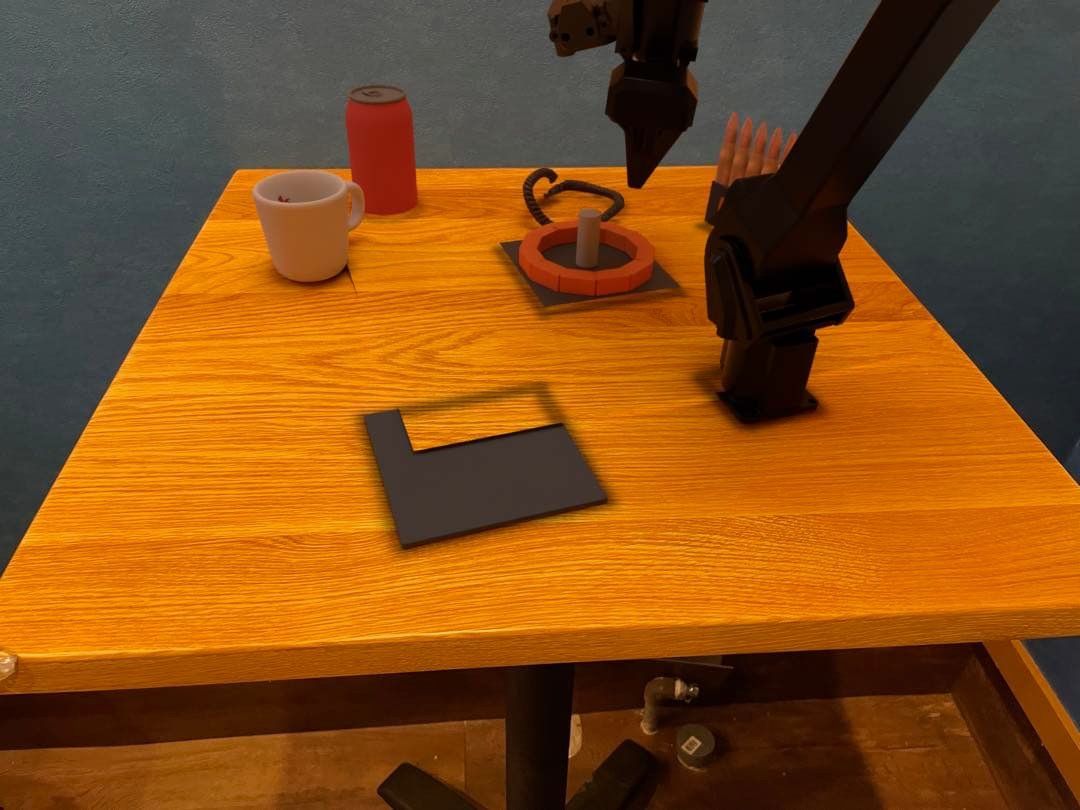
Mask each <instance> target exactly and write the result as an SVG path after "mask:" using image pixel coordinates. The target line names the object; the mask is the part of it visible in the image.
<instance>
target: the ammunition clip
mask: <svg viewBox="0 0 1080 810" xmlns="http://www.w3.org/2000/svg"><path fill="white" fill-rule="evenodd" d="M738 132H739V117H738V113H737V111H736V110H734V111H733V112H732V114H731V115H730V118H729V120H728V123H727V125H726V129H725V133H724V137H723V138H724V139H723V140H722V141H723V142H722V146H721V150H720V152H719V154H718V155H719V156H718V160H717V165H716V172H715V178H714V180H712V181H711V184H710V190H709V195H708V201H707V205H706V211H705V215H704V220H703V221H704V222H705V223H708V224H709V222H708V220H709V219H710V218H711V217H713V216H714V215H715V214H716V213H717V212H718V210H719V209H720V207H721V205H722V203H723V200H724V197H725V195H726V192H727V190H728V188H729V187H730V186H731V184H732V183H733V182H734V181H735V180H736V179H738V178H744V177H749V176H755V175H761V174H767V173H773V172H777V170H778V169H779V168H780V166H781V164H782V163H783V161H784V159H785V158H786V156H787V154H788V153H789V151H790V149H791V148H792V146H793V145H794V143H795V141H796V140H797V138H798V136H797V133H796V131H793V132H792V133H791V134H790V136H789V138H788V139H787V142H786V144H785V147H784V150H783V152H782V156H781V151H782V144H783V138H782V137H783V135H782V128H781V126H780V125H778V126H777V127H776V129H775V130H774V132H773V134H772V136H771V138H770V141H769V143H767V142H768V141H767V140H768V127H767V122H766V121H765V120H763V121H762V123H760V125H759V126H758V130H757V132H756V134H755V136H754V137H755V138H754V140H753V121H752V116H750V115H747V118H746V119H745V121H744V122H743V125H742V128H741V130H740V133H738ZM738 134H739V137H738ZM737 140H738V143H737ZM752 140H753V145H752ZM767 144H768V147H767ZM751 146H752V149H751ZM766 148H767V152H766ZM780 157H781V158H780Z"/></svg>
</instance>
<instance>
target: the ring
mask: <svg viewBox="0 0 1080 810" xmlns="http://www.w3.org/2000/svg"><path fill="white" fill-rule="evenodd" d="M553 222H554V223H549V224H546V225H544V226H541V225H540V226H539V227H537V228H535V229H532V230H530V231H529V232H526V233H525V235H524V237H523V239H522V240H523V241H522V243H521V246H520V248H519V264H520V266H521V267H522V269H523V270H524V271H525V273H526V274H527V276H528V277H529V278H530V279H531V280H532V281H534V282H536V283H539V284H541V285H543V286H545V287H548V288H550V289H552V290H555V291H557V292H558V291H560V292H563V293H571V294H580V295H588V296H595V295H596V296H601V295H608V294H615V293H621V292H628V291H631V290H633V289H634V288H636V287H638V286H639V285H641V284H643V283H644V282H646V281H648V280H649V279H650V278H651V274H652V268H653V262H654V260H655V254H656V247H655V245H653V244H652V243H651V242H650V241H649V240H648V239H647V238H646V237H645V236H644V235H643V234H642V233H639V231H635V230H633V229H630V228H627V227H625V226H622V225H619V224H616V223H612V222H608V221H606V222H601V223H600V236H599V243H600V244H607V245H609V246H612V247H615V248H617V249H620V250H622V251H625V252H626V253H627V254H628V255H629V256H630V257H631V258H632V259H633V261H631V262H629V263H628V264H626V265H624V266H622V267H621V268H617V269H610V270H602V271H595V272H593V271H584V270H575V269H567V268H565V267H562V266H560V265H557V264H555V263H553V262H550V261H548V260H545V258H544V257H543V256H542V254H541V252H543V251H545V250H547V249H549V248H551V247H553V246H555V245H557V244H564V243H572V242H577V235H578V219H572V220H564V221H553Z"/></svg>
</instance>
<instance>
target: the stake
mask: <svg viewBox="0 0 1080 810" xmlns="http://www.w3.org/2000/svg"><path fill="white" fill-rule="evenodd" d="M601 215H602V212H601V211H600V210H598V209H595V208H583V209H580V210H579V212H578V219H577V220H578V235H577V242H572V243H564V244H557V245H555V246H553V247H551V248H549V249H547V250H545V251H543V252H541V254H542V256H543V257H544V258H545V260H548V261H550V262H553V263H555V264H557V265H560V266H562V267H565V268H567V269H575V270H584V271H593V272H595V271H602V270H610V269H617V268H621V267H622V266H624V265H626V264H628V263H629V262H631V261H633V259H632V258H631V257H630V256H629V255H628V254H627V253H626V252H625V251H622V250H620V249H617V248H615V247H612V246H609V245H607V244H600V243H599V236H600V223H601ZM522 241H523V239H519V240H509V241H502V242H499V246H501V248H502V249H503V251H504V252H505V253H506V255H507V256H508V257H509V259H510V261H511V262H512V264H513V265H514V266H515V268H516V269H517V271H518V272H519V273H520V275H521V277H523V280H525V282H526V283H527V285H528V287H530V289H531V291H532V292H533V293H534V294H535V296H536V297H537V299H538V300H539V302H540V303H541V305H542V306H543V308H547V307H556V306H562V305H570V304H575V303H582V302H588V301H595V300H603V299H609V298H615V297H622V296H630V295H636V294H643V293H648V292H655V291H663V290H669V289H675V288H680V287H682V286H681V285H680V284H679V283H678V282H677V281H676V280H675V279H674V278H673V277H672V276H671V275H670V274H669V273H668V272H667V271H666V270H665V269H664V268H663V267H662V266H661V265H660V264H659V263H658V262H657V261H656V260H655V259H654V262H653V268H652V274H651V278H650V279H649V280H648V281H646V282H644V283H643V284H641V285H639V286H638V287H636V288H634V289H633V290H631V291H628V292H621V293H615V294H608V295H601V296H596V295H595V296H588V295H580V294H571V293H563V292H560V291H558V292H557V291H555V290H552V289H550V288H548V287H545V286H543V285H541V284H539V283H536V282H534V281H532V280H531V279H530V278H529V277H528V276H527V274H526V273H525V271H524V270H523V269H522V267H521V266H520V264H519V248H520V246H521V243H522Z"/></svg>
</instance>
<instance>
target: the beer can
mask: <svg viewBox="0 0 1080 810" xmlns="http://www.w3.org/2000/svg"><path fill="white" fill-rule="evenodd" d="M347 97H348V99H347V100H348V101H347V103H346V108H345V118H344V119H345V129H346V137H347V146H348V147H347V148H348V155H349V164H350V165H349V167H350V174H351V175H350V176H351V182H353V183H356V184H357V185H359V187H360V188H361V189H362V191H363V194H364V200H365V211H364V214H369V215H376V216H394V215H399V214H404V213H407V212H410V211H411V210H413V209H415V208H416V207H417V206H418V203H419V200H418V199H419V198H418V183H417V167H416V166H417V165H416V149H415V135H414V134H415V133H414V117H413V111H412V108H411V105H410V103H409V101H408V99H407V92H406V91H405V90H404V88H402V87H400V86H396V85H392V84H366V85H359V86H356V87H354V88H352V89H350V90H349V91H348V93H347Z"/></svg>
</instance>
